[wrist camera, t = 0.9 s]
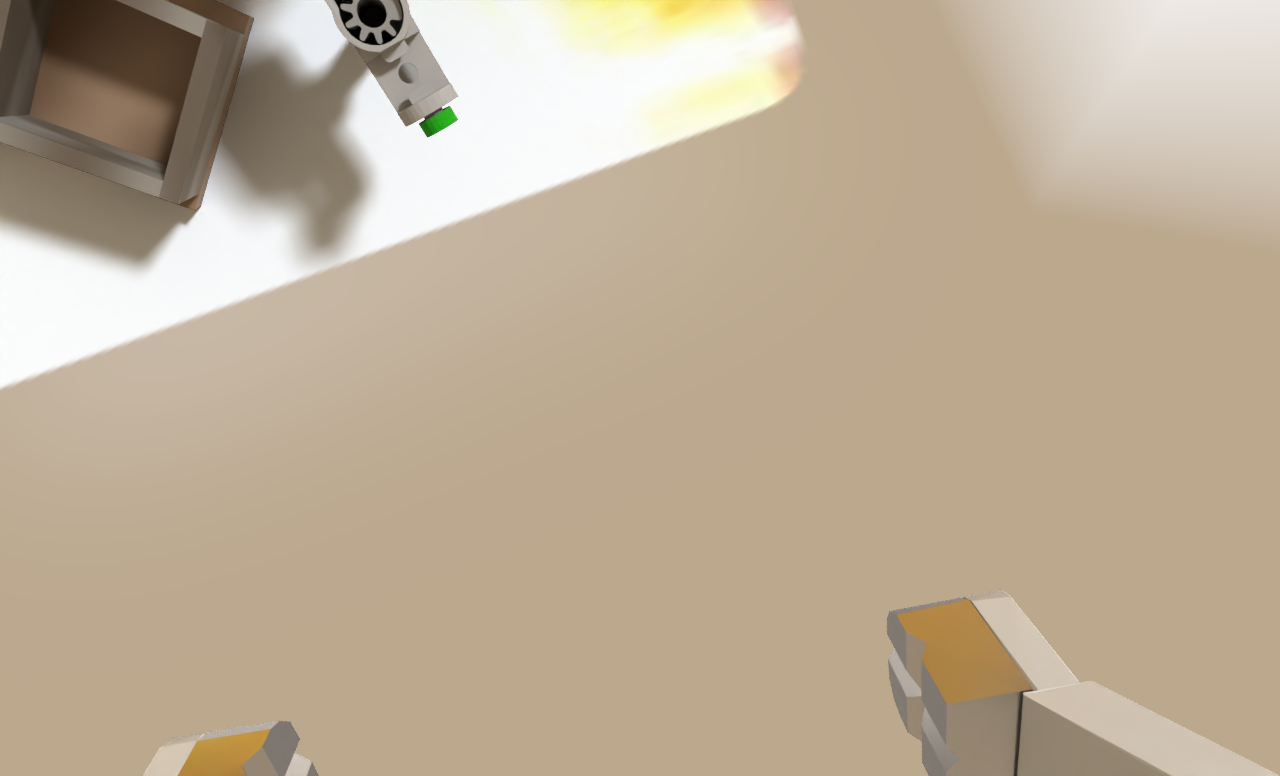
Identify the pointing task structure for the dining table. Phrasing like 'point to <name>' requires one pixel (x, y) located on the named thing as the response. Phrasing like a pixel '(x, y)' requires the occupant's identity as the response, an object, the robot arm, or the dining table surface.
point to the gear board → (122, 87)
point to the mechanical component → (398, 59)
